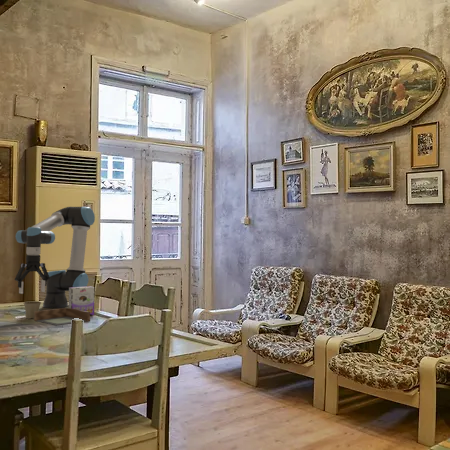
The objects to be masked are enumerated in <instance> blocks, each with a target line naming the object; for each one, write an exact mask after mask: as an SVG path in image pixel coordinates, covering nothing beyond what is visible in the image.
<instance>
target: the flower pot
mask: <svg viewBox="0 0 450 450" xmlns="http://www.w3.org/2000/svg"><path fill="white" fill-rule="evenodd" d="M41 304H42V301H35V300H34V301H24V302H23V306H24V311H25V318H26V319H30V320H31V319H33V320H34V314H35V311H40V307H41Z"/></svg>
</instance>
